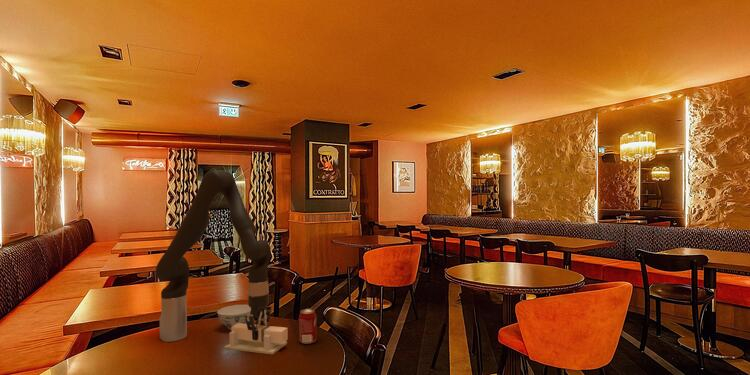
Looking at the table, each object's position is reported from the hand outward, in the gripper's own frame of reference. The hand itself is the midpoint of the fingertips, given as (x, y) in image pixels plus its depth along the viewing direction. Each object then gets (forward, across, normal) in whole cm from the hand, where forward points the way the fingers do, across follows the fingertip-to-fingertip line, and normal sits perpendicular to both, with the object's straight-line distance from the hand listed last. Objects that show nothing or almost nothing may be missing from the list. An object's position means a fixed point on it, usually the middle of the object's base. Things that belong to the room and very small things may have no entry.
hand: (259, 337), depth 144 cm
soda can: (+4, -9, +16) cm, 19 cm away
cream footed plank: (+3, 0, -2) cm, 4 cm away
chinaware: (+4, -16, -23) cm, 28 cm away
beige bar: (+1, 0, 0) cm, 1 cm away
